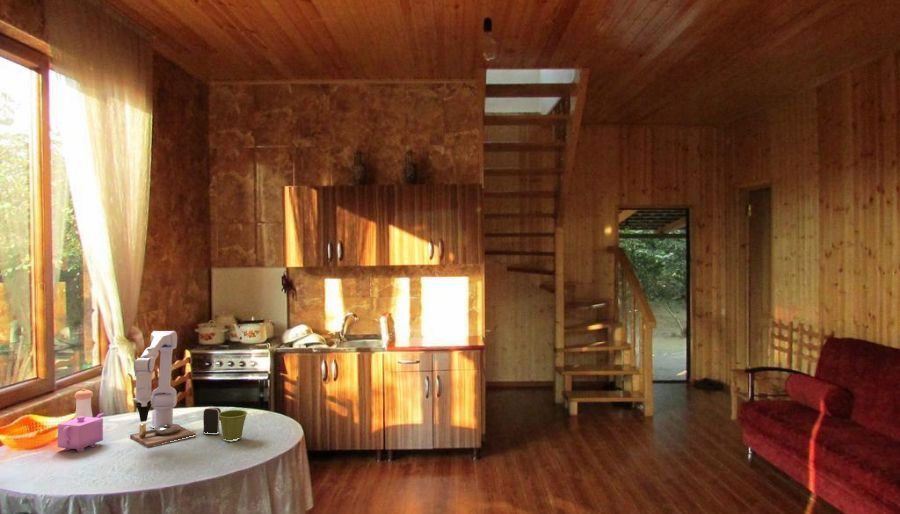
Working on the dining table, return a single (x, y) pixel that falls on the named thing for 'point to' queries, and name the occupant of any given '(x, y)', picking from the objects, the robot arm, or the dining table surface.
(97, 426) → the teapot
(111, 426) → the dining table surface
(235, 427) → the plant pot
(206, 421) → the battery charger
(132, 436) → the cutting board
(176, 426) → the crank handle wheel
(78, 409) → the pepper shaker
